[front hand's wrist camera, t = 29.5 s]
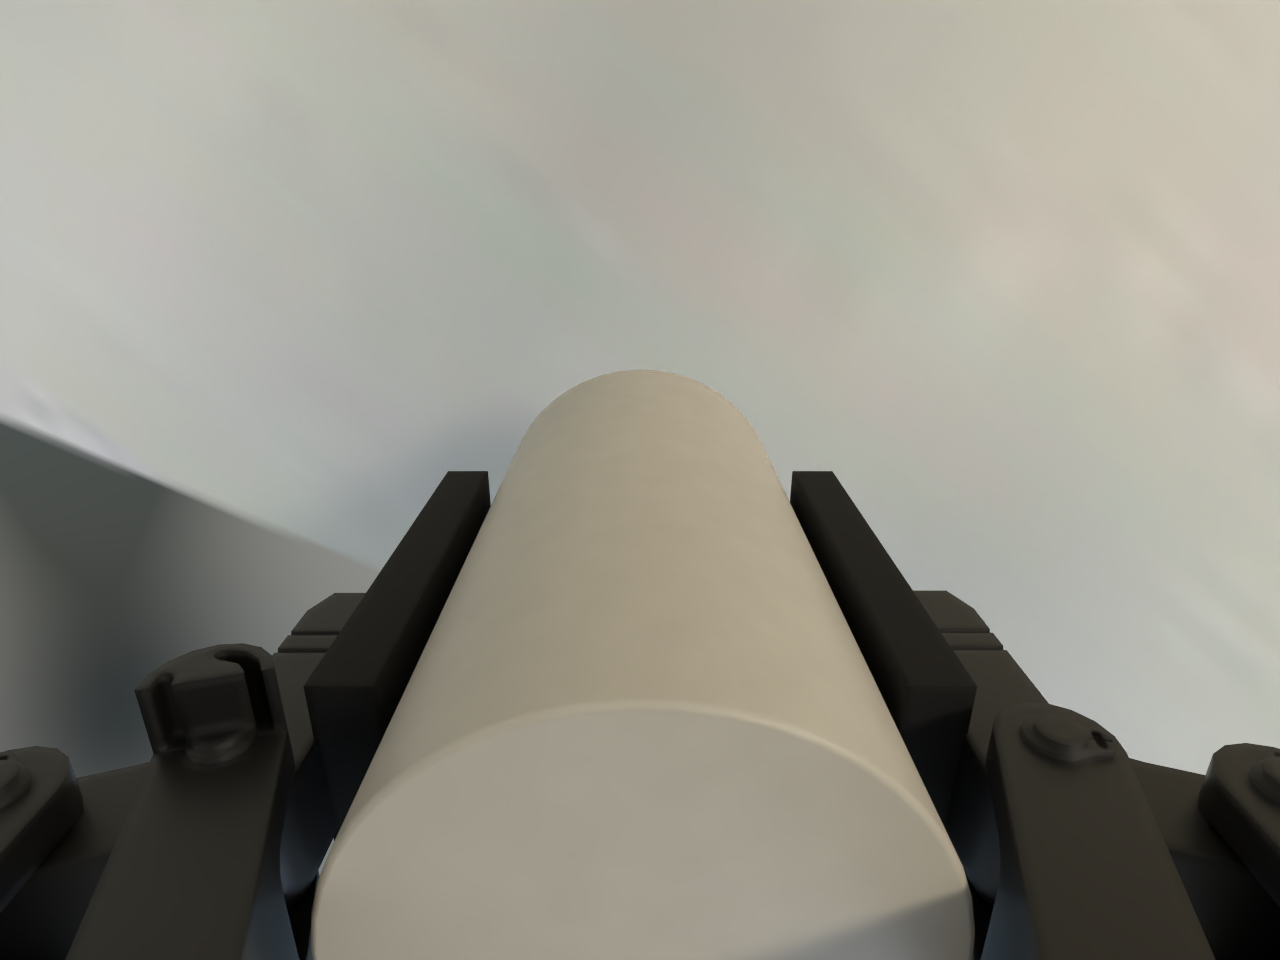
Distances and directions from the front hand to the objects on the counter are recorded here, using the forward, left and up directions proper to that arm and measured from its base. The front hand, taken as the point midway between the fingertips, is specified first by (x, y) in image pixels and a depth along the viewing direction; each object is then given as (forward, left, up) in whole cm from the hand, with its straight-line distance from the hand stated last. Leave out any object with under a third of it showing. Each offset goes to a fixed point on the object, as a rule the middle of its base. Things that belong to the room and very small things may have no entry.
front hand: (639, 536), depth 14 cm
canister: (0, 0, -2) cm, 2 cm away
